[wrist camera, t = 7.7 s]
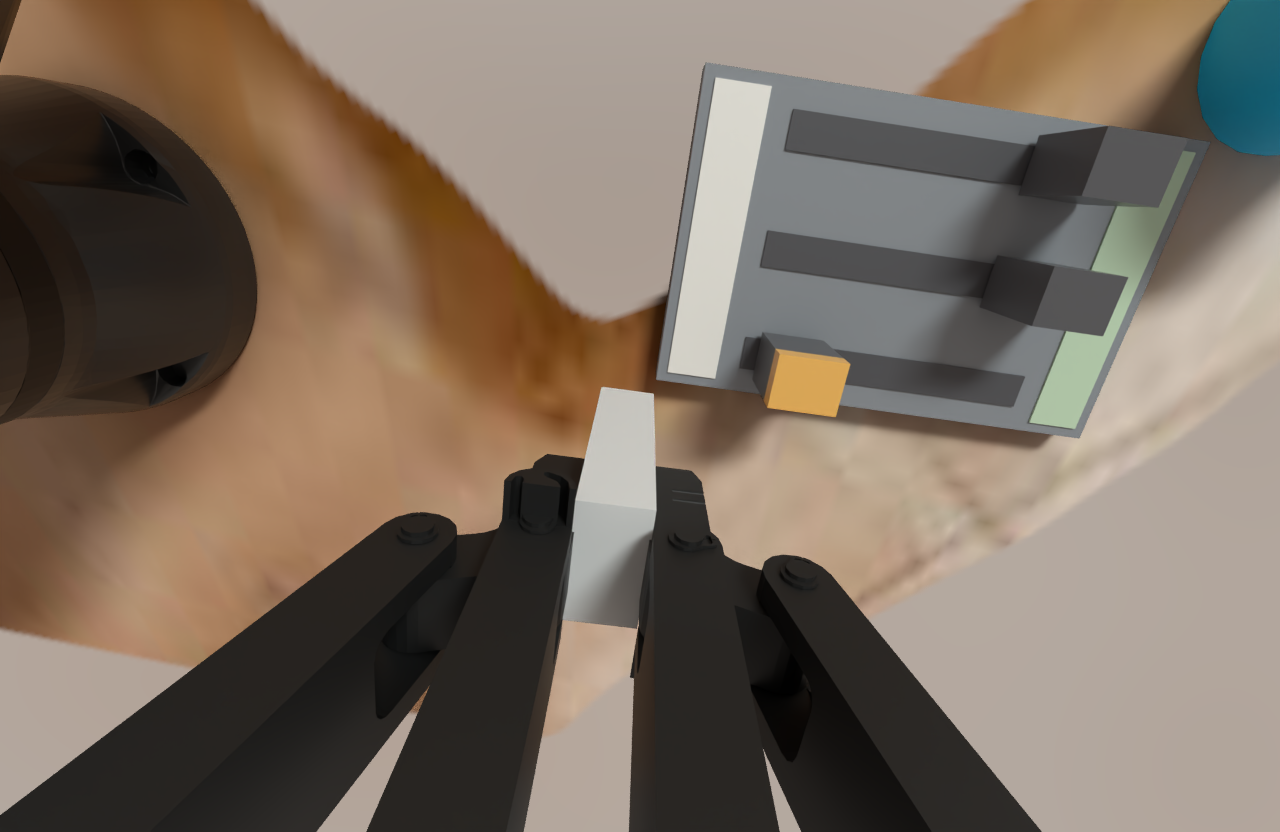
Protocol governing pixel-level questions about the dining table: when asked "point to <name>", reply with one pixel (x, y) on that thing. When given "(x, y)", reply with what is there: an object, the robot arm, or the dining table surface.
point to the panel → (891, 249)
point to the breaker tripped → (799, 374)
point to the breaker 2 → (1053, 295)
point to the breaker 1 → (1103, 167)
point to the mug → (1243, 77)
